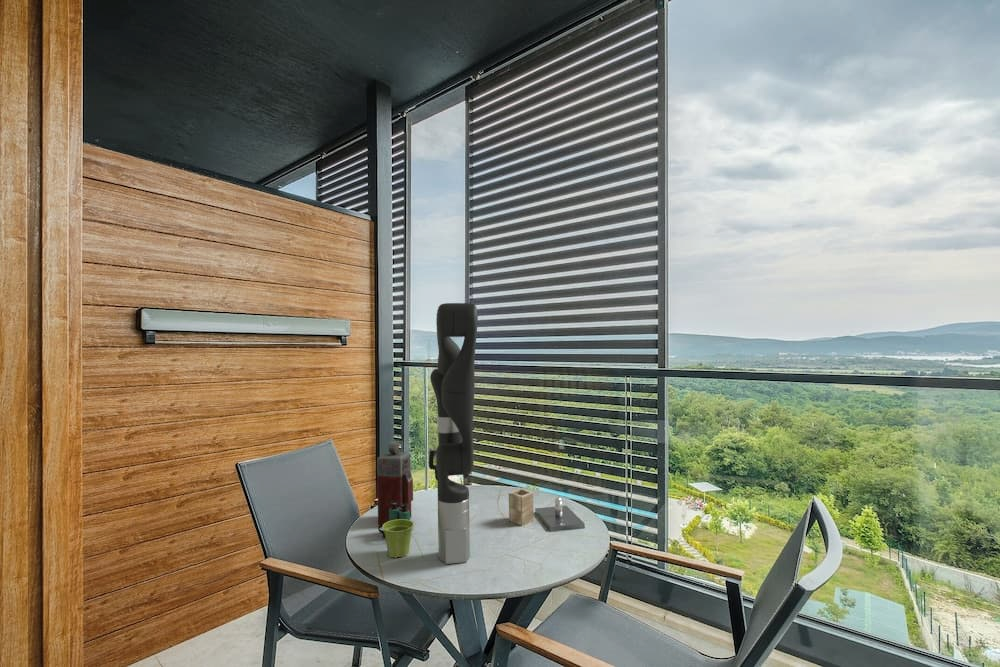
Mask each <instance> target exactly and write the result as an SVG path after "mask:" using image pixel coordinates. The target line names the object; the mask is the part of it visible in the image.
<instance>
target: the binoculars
mask: <svg viewBox="0 0 1000 667" xmlns="http://www.w3.org/2000/svg"><path fill="white" fill-rule="evenodd" d="M391 506H392V508H390V509H389V520H386V522H387V521H391V520H397V519H407V520H411V518H410V513H409V510H407V504H403V505H401V508H399V507H397V502H396V501H391ZM386 522H385V523H386ZM383 524H384V523H383ZM383 524H381V525H378V527H377V529H378V532H379V533H380V534H382V536H381V537H382V538H383V539H386V537H385V533H384V530H383V529H382V526H383Z"/></svg>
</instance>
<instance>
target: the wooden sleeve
mask: <svg viewBox="0 0 1000 667" xmlns="http://www.w3.org/2000/svg"><path fill="white" fill-rule="evenodd" d="M508 515H509V517H508V521H511V522H510V523H512V522H514V523H513V524H515V523H516V524H515V525H518V524H519V526H521V525H523V526H526V525H527V523H528V524H530V523H533V522H534V519H535V518H534V517H535V516H534V492H533V491H530V490H526V489H523V488H518V489H516V490H512V491H511V492H508ZM529 522H530V523H529ZM525 524H526V525H525Z"/></svg>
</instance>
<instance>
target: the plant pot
mask: <svg viewBox="0 0 1000 667" xmlns="http://www.w3.org/2000/svg"><path fill="white" fill-rule="evenodd" d="M414 527H415V523H414V522H413V521H412V520H411V519H410V520H407V519H397V520H391V521H388V522H386V523H384V524H383V526H382V527H381V530H383V531H384V533H385V537H386V538H385V543H386V549H387V555H388V557H390V558H393V557H394V558H393V559H398V558H400V557H401V558H404V557H406V556H407V554H409V553H410V547H411V546H410V545H411V538H412V537H411V536H412V532H413V528H414ZM403 556H404V557H403ZM397 557H398V558H397Z"/></svg>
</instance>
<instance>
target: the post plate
mask: <svg viewBox="0 0 1000 667" xmlns="http://www.w3.org/2000/svg"><path fill="white" fill-rule="evenodd" d="M534 510H535V514H536V515H537V517H538V516H539V518H538V519H539V520H541V522H542V523H543V524H544V525H545V527H546V528H547V530H549V532H556V531H557V532H558V531H568V530H569V531H570V530H577V529H585V527H586V526H585V522H584V521H582V520H581V518H580V517H579V516H578V515H577V514H576V513H574V511H573V510H572V509H571V508H569V506H567V505H563V499H562V498H561V497H560V496H559V497H556V498H555V499H554V506H546V507H537V508H534Z"/></svg>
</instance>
